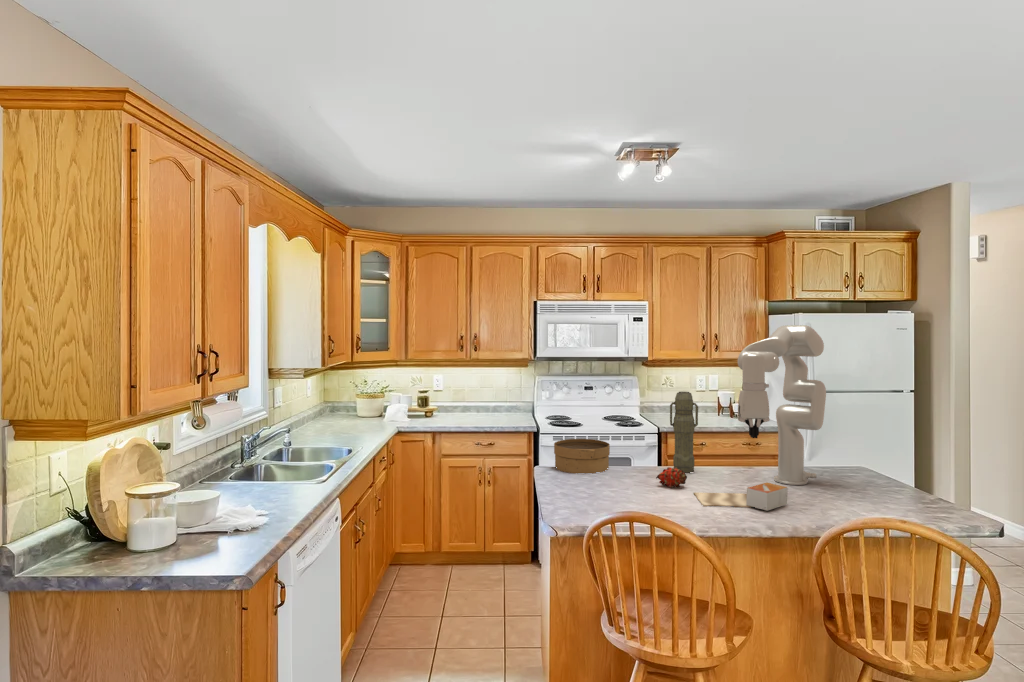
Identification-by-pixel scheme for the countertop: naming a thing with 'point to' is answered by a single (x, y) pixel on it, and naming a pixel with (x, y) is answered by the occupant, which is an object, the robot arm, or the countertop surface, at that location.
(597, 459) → the steamer basket
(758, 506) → the small box
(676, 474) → the dragon fruit
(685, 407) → the thermos
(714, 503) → the maple board
